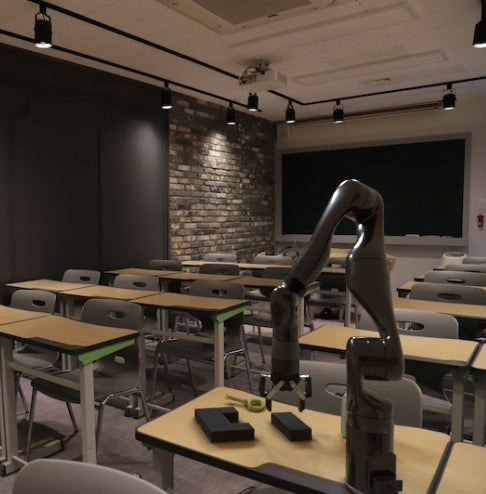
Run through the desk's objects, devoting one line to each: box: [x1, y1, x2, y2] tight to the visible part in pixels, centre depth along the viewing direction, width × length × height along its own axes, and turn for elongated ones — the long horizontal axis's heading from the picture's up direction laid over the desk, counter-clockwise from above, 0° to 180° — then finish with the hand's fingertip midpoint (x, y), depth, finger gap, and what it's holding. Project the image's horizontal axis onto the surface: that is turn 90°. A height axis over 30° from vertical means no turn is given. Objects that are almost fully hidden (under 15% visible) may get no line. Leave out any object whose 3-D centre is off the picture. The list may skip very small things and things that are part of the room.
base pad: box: [194, 406, 256, 444], centre depth 137 cm, size 16×12×3 cm
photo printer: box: [340, 392, 347, 438], centre depth 133 cm, size 10×4×12 cm, turn 123°
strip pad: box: [270, 411, 313, 442], centre depth 135 cm, size 6×12×3 cm, turn 7°
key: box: [224, 394, 266, 412], centre depth 154 cm, size 7×12×2 cm, turn 77°
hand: (284, 411), depth 139 cm, fingers open, 8 cm apart
